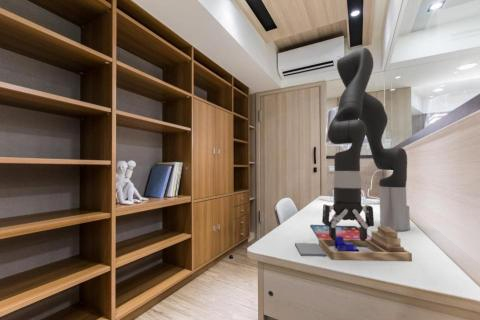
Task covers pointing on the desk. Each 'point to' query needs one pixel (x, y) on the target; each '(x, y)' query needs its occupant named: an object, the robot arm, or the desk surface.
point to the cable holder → (344, 245)
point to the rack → (376, 255)
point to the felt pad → (309, 249)
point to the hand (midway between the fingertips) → (347, 239)
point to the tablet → (337, 232)
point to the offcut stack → (387, 239)
